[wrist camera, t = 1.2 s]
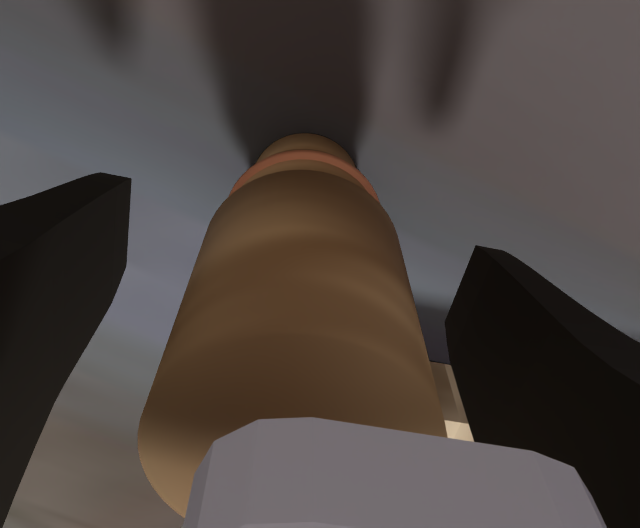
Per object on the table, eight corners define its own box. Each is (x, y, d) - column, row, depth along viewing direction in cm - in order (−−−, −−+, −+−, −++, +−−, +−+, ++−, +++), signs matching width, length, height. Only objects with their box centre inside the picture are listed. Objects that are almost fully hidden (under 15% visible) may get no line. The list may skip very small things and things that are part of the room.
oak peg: (399, 128, 15) (494, 365, 7) (360, 262, 17) (398, 565, 9) (240, 93, 14) (148, 305, 6) (219, 236, 16) (129, 530, 8)
